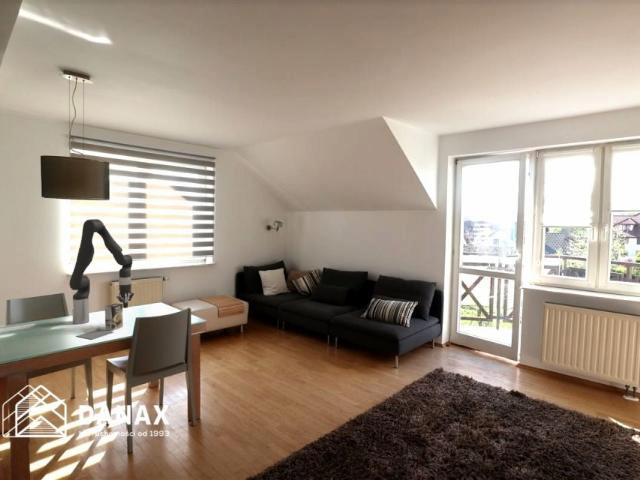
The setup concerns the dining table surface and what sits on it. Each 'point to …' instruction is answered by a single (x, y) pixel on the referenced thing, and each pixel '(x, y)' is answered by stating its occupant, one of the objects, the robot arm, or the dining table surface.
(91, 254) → the robot arm
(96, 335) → the mat
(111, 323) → the coffee box
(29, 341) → the dining table surface
